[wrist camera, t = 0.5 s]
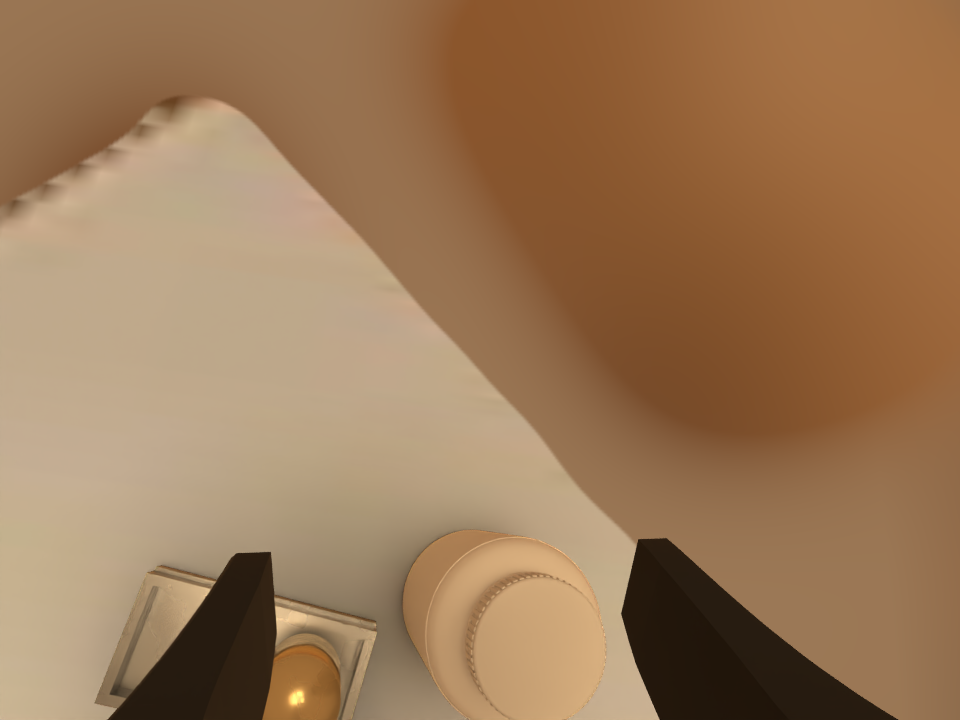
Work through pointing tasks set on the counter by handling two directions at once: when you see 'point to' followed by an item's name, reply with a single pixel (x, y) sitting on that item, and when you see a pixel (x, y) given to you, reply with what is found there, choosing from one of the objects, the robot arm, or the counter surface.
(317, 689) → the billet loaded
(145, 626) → the crate
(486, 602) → the pill bottle
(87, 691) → the counter surface
